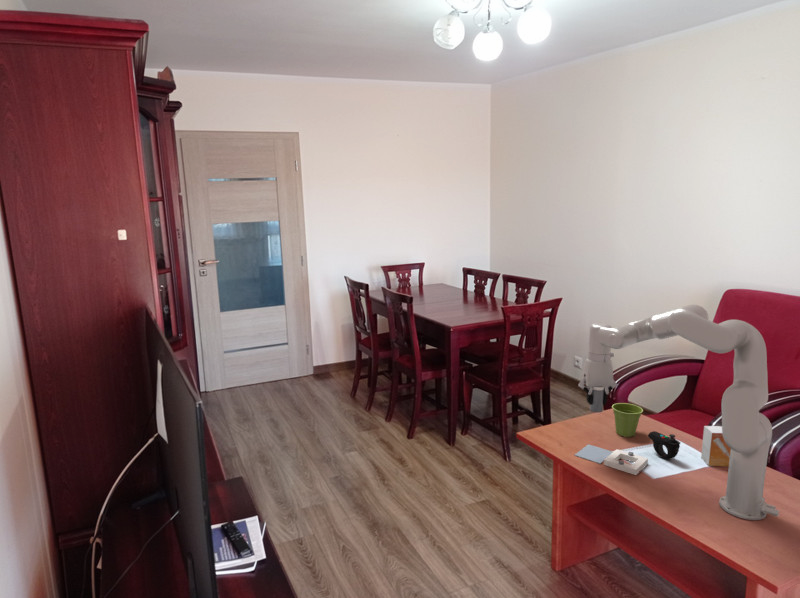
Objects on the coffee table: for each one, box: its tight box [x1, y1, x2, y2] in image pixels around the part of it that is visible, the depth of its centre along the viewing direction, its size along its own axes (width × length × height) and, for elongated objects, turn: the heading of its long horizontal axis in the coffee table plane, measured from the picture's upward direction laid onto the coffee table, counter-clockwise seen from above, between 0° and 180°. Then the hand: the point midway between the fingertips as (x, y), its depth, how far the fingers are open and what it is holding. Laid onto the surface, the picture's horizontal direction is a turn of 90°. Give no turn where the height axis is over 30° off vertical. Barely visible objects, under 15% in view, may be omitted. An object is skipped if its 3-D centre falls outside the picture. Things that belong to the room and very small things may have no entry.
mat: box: [574, 443, 614, 465], centre depth 206 cm, size 10×12×1 cm
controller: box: [647, 430, 681, 460], centre depth 202 cm, size 4×12×10 cm, turn 23°
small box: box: [700, 425, 731, 468], centre depth 197 cm, size 8×6×13 cm
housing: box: [603, 448, 649, 476], centre depth 197 cm, size 12×12×3 cm
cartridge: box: [589, 387, 604, 413], centre depth 202 cm, size 5×5×10 cm
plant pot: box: [611, 402, 644, 438], centre depth 222 cm, size 12×12×11 cm
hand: (596, 402), depth 202 cm, fingers closed on cartridge, 4 cm apart
